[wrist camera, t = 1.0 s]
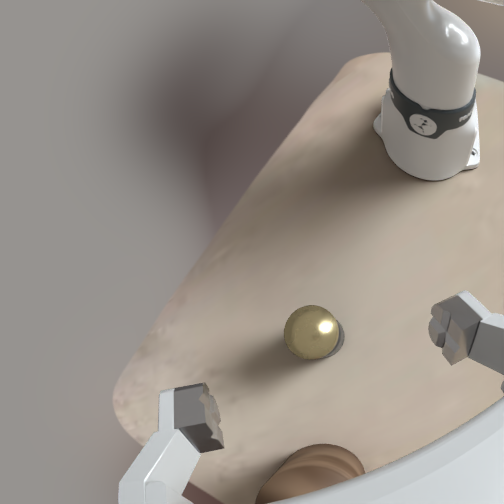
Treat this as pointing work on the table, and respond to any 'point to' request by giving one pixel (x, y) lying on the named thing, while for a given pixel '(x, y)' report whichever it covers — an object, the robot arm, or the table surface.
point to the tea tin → (313, 333)
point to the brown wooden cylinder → (310, 472)
